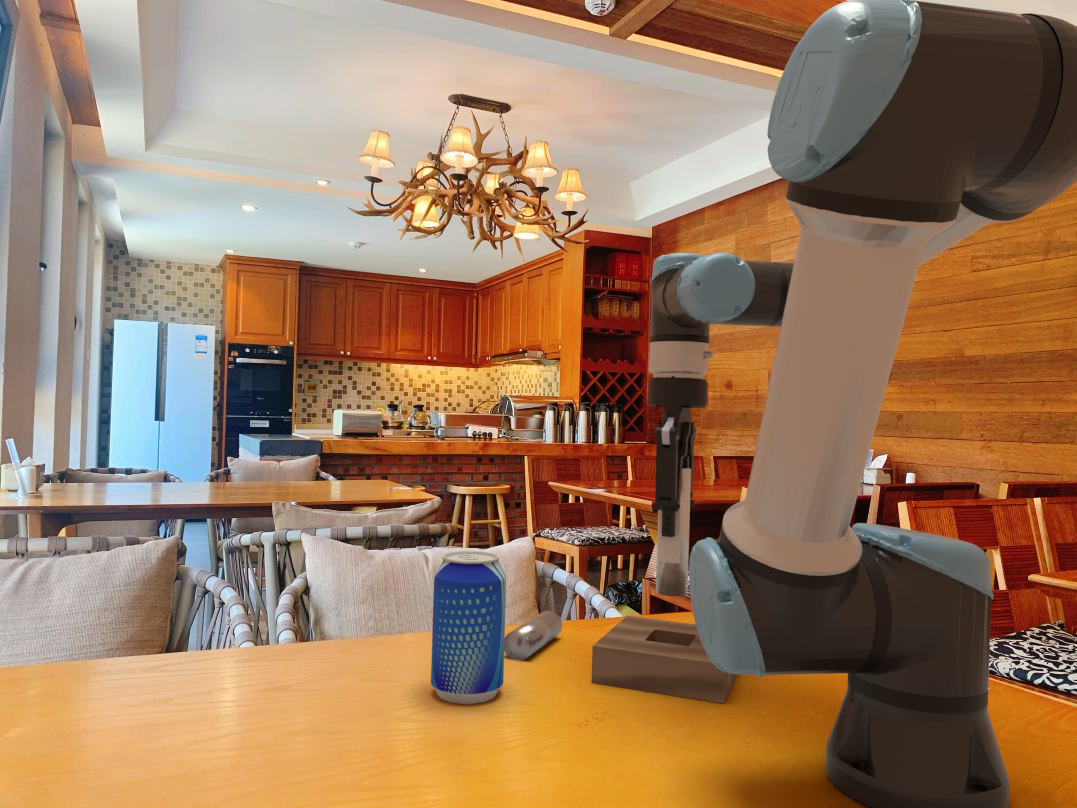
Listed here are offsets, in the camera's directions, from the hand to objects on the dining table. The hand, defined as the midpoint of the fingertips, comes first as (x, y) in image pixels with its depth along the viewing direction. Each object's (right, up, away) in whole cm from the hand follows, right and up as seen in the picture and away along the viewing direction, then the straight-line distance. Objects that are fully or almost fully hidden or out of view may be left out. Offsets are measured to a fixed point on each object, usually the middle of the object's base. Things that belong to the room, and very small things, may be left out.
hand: (672, 558), depth 103 cm
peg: (0, -4, 0) cm, 4 cm away
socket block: (0, -15, 0) cm, 15 cm away
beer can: (-26, -14, -10) cm, 31 cm away
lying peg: (-18, -10, +9) cm, 23 cm away
